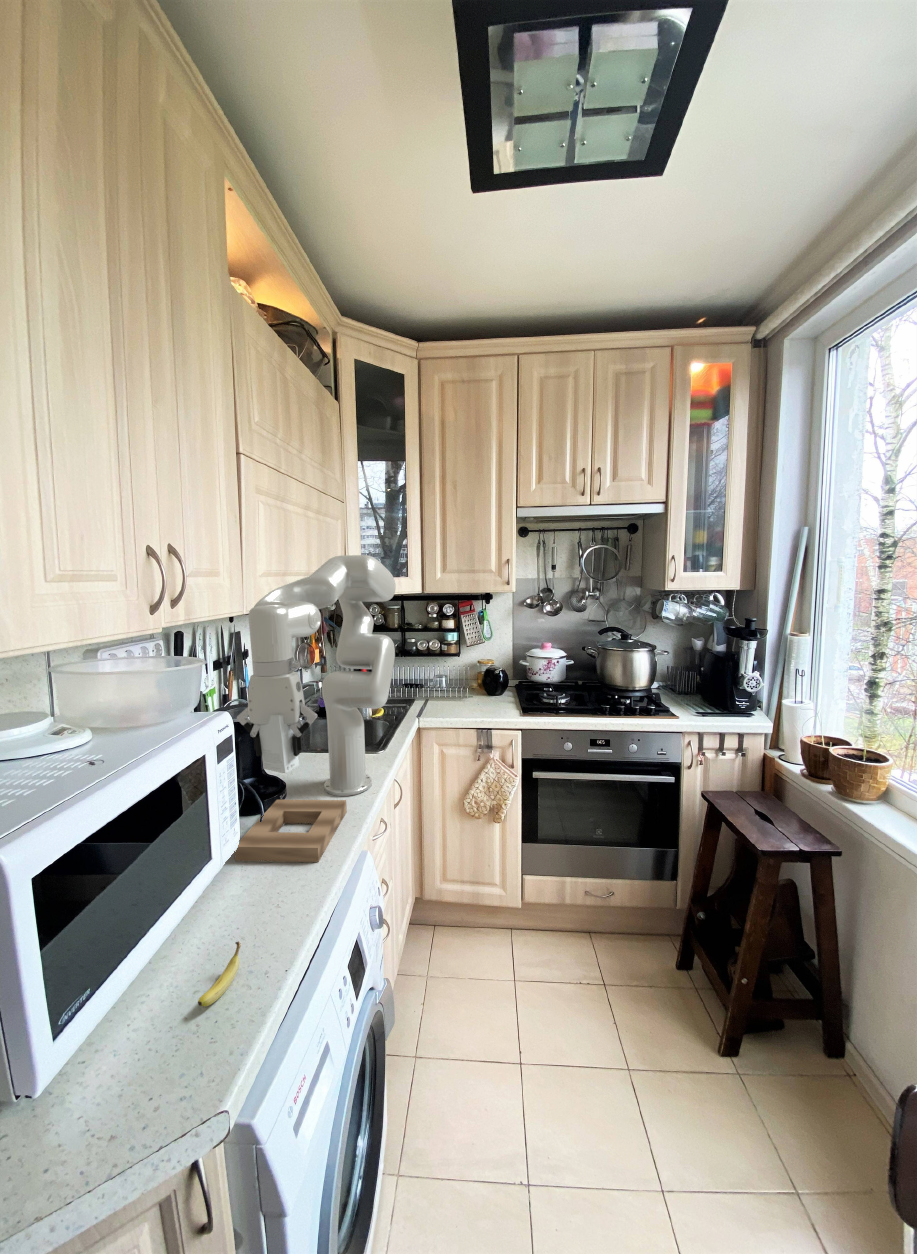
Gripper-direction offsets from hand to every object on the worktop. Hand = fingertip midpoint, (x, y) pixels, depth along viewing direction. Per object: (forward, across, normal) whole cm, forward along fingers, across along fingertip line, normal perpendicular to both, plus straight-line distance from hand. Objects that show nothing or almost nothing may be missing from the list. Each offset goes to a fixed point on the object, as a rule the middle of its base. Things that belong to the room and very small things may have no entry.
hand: (279, 752), depth 95 cm
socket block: (+21, 0, -6) cm, 22 cm away
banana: (+20, -5, +34) cm, 39 cm away
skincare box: (+3, 0, 0) cm, 3 cm away
